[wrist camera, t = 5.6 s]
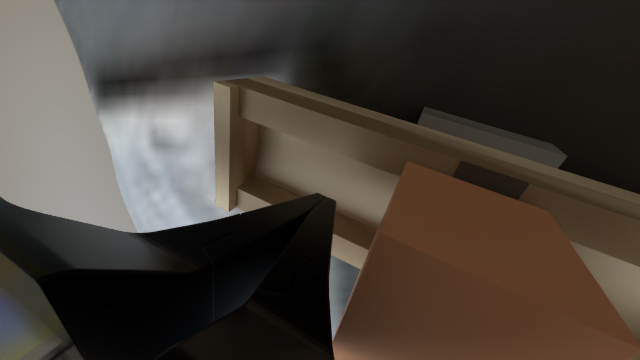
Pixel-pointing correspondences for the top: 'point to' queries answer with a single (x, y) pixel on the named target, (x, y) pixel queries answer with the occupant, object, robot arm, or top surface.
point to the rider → (474, 283)
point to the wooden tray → (388, 163)
